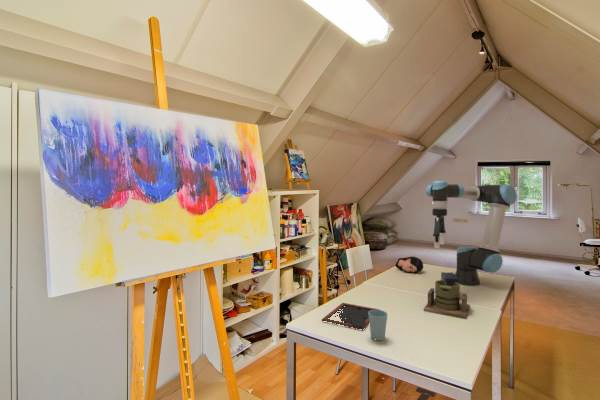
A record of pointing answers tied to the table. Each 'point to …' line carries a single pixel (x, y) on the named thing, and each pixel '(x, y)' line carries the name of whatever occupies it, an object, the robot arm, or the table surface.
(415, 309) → the table surface
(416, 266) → the head
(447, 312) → the roll stand
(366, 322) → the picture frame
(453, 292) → the piston
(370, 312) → the cup
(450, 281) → the small box
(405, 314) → the table surface
